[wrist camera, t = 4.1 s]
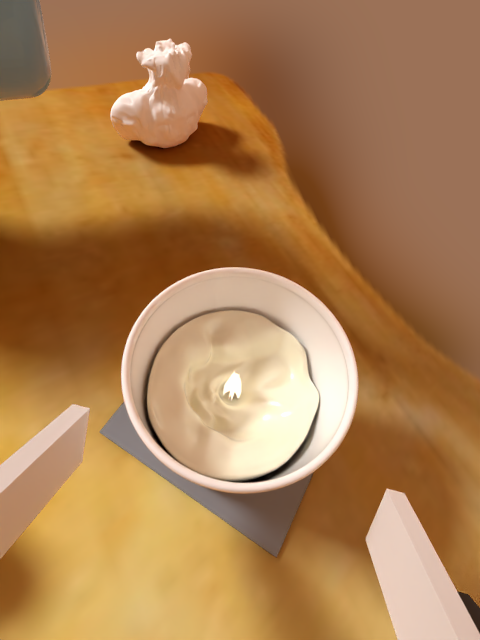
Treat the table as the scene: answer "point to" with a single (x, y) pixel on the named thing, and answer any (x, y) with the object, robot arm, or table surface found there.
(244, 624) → the table surface
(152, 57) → the bust
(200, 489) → the gray tile
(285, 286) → the candle holder
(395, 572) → the robot arm
